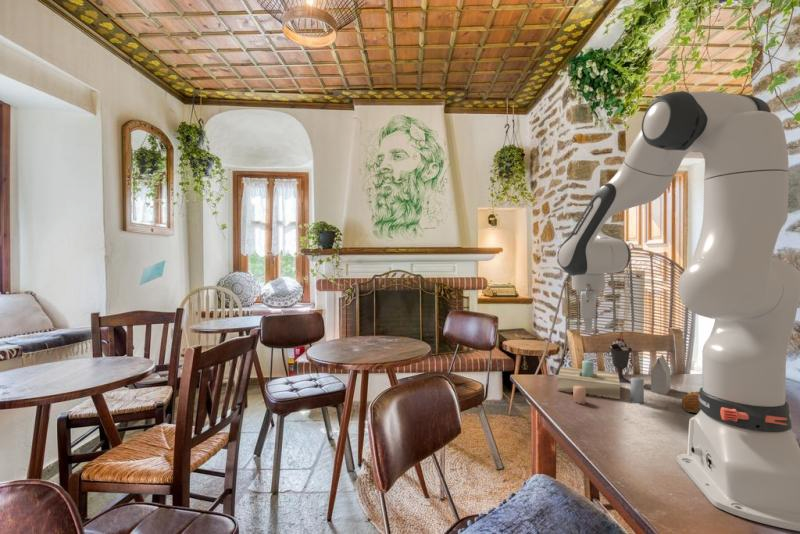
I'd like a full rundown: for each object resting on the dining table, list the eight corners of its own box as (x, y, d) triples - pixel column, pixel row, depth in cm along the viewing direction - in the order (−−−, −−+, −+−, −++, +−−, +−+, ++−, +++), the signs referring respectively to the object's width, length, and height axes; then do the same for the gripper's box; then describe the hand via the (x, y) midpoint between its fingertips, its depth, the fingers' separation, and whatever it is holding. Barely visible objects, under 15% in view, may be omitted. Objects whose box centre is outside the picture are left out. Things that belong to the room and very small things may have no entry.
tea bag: (670, 388, 114) (670, 355, 114) (666, 394, 109) (666, 359, 109) (655, 386, 116) (655, 353, 116) (650, 392, 111) (650, 357, 111)
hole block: (620, 399, 106) (620, 384, 106) (557, 390, 113) (557, 377, 113) (617, 386, 117) (617, 372, 116) (560, 379, 124) (560, 366, 124)
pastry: (712, 419, 93) (711, 403, 92) (677, 412, 97) (677, 397, 97) (716, 408, 99) (716, 393, 99) (684, 402, 104) (684, 387, 104)
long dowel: (593, 390, 113) (593, 363, 113) (582, 389, 114) (582, 362, 114) (593, 387, 115) (593, 361, 115) (582, 386, 117) (582, 360, 117)
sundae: (625, 376, 125) (625, 331, 125) (636, 383, 119) (636, 335, 118) (604, 376, 126) (604, 330, 126) (614, 383, 119) (613, 335, 119)
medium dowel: (644, 404, 102) (644, 381, 102) (631, 402, 103) (631, 380, 103) (643, 400, 105) (643, 378, 105) (630, 398, 106) (630, 377, 106)
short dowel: (585, 404, 102) (585, 389, 102) (573, 403, 103) (573, 388, 103) (585, 401, 105) (585, 386, 105) (573, 399, 106) (573, 385, 106)
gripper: (600, 285, 104) (601, 337, 104) (599, 282, 122) (600, 325, 122) (574, 285, 106) (575, 335, 106) (577, 282, 125) (578, 324, 125)
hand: (588, 330), depth 114 cm, fingers open, 8 cm apart
